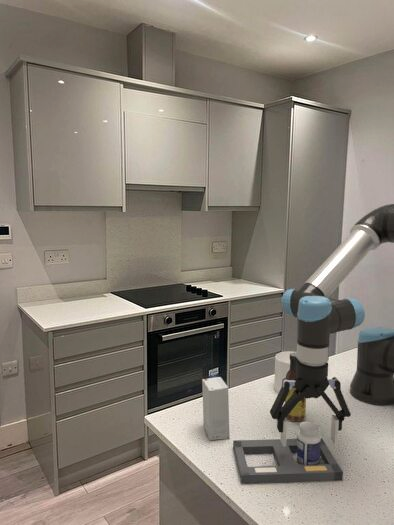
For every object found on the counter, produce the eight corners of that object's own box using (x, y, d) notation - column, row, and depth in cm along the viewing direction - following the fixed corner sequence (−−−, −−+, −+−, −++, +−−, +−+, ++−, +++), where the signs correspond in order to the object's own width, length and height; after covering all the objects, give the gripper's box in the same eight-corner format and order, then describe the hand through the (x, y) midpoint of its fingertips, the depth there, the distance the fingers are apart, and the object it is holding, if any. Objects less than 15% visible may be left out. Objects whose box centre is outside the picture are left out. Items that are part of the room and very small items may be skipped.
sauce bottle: (305, 423, 120) (308, 359, 117) (284, 421, 121) (286, 358, 118) (304, 412, 126) (307, 351, 123) (284, 410, 128) (286, 350, 125)
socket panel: (321, 445, 109) (321, 437, 109) (342, 480, 95) (342, 471, 95) (233, 448, 108) (233, 439, 108) (241, 483, 94) (241, 474, 94)
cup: (294, 401, 134) (295, 366, 132) (267, 388, 143) (268, 356, 141) (315, 391, 141) (316, 358, 139) (288, 380, 150) (289, 348, 148)
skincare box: (229, 438, 112) (230, 388, 110) (208, 441, 111) (209, 390, 109) (221, 423, 120) (221, 375, 118) (201, 425, 119) (201, 377, 117)
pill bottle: (321, 459, 103) (323, 422, 102) (317, 472, 98) (319, 434, 97) (298, 453, 106) (299, 417, 104) (294, 466, 100) (295, 428, 99)
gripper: (354, 353, 102) (350, 432, 105) (259, 355, 101) (257, 435, 104) (368, 365, 95) (363, 450, 98) (265, 367, 94) (263, 453, 97)
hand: (308, 442), depth 101 cm, fingers open, 12 cm apart
